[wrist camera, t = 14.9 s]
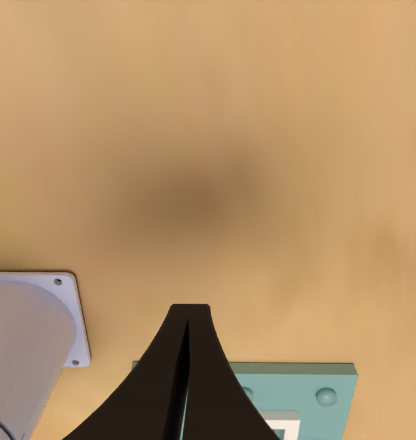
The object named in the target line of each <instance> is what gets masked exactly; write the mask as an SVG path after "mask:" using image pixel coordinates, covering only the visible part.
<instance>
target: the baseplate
mask: <svg viewBox="0 0 416 440" xmlns="http://www.w3.org/2000/svg"><path fill="white" fill-rule="evenodd" d="M137 363H138V362H134V363H133V367H132V370H133V368H134V367H135V366H136V364H137ZM229 364H230V366H231V368H232V370H233V372H234V374H235V376H236V378H237V379H238V381H239V383H240V385H241V386H242V388H243V390H244V391H245V393H246V394H247V396H248V397H249V399H250V400H251V402H252V403H253V405H254V406H255V407H256V409H257V410H258V412H259V413H260V414H261V416H262V417H263V418H264V420H265V421H266V422H267V424H268V425H269V426H270V427H271V429H274V432H275V434H276V435H277V436H278V437H279V438H280V439H281V440H342V438H343V434H344V430H345V426H346V422H347V418H348V414H349V410H350V405H351V401H352V397H353V393H354V389H355V385H356V381H357V377H358V374H357V372H356V369H355V367H354V364H318V363H229ZM187 393H188V391H187ZM186 402H187V398H186ZM185 411H186V404H185V410H184V417H183V423H182V430H181V437H180V440H182V436H183V428H184V419H185Z"/></svg>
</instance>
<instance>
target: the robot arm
mask: <svg viewBox="0 0 416 440" xmlns="http://www.w3.org/2000/svg"><path fill="white" fill-rule="evenodd" d="M57 279H60V280H61V281H62V282H59V281H57ZM76 360H77V361H76ZM90 362H91V356H90V351H89V346H88V341H87V336H86V331H85V326H84V320H83V315H82V310H81V305H80V300H79V295H78V290H77V284H76V279H75V277H74V276H73V275H72V274H71V273H67V272H0V440H30V439H31V437H32V435H33V432H34V430H35V428H36V426H37V424H38V421H39V419H40V417H41V415H42V413H43V410H44V408H45V406H46V404H47V402H48V399H49V397H50V395H51V393H52V391H53V388H54V386H55V384H56V382H57V380H58V377H59V375H60V373H61V371H62V369H63V367H87V366H89V364H90ZM187 391H188V393H187ZM186 398H187V402H186ZM185 404H186V411H185V419H184V428H183V436H182V440H281V439H280V438H279V437H278V436H277V435H276V434H275V432H274V431H273V430H272V429H271V427H270V426H269V425H268V424H267V422H266V421H265V420H264V418H263V417H262V416H261V414H260V413H259V412H258V410H257V409H256V407H255V406H254V405H253V403H252V402H251V400H250V399H249V397H248V396H247V394H246V393H245V391H244V390H243V388H242V386H241V385H240V383H239V381H238V379H237V378H236V376H235V374H234V372H233V370H232V368H231V366H230V364H229V362H228V360H227V358H226V356H225V354H224V352H223V349H222V347H221V344H220V342H219V339H218V337H217V334H216V331H215V328H214V325H213V321H212V317H211V311H210V306H209V305H208V304H173V305H172V306H170V309H169V311H168V314H167V316H166V318H165V320H164V322H163V324H162V325H161V327H160V329H159V331H158V333H157V334H156V336H155V337H154V339H153V341H152V342H151V344H150V346H149V347H148V349H147V350H146V352H145V353H144V354H143V356H142V357H141V359H140V360H139V362H138V363H137V364H136V366H135V367H134V368H133V370H132V371H131V372H130V373H129V375H128V376H127V377H126V378H125V379H124V381H123V382H122V383H121V384H120V385H119V387H118V388H117V389H116V390H115V391H114V392H113V393H112V394H111V395H110V396H109V397H108V398H107V400H106V401H105V402H104V403H103V404H102V405H101V406H100V407H99V408H98V409H97V410H95V411H94V412H93V413H92V414H91V415H90V416H89V417H88V418H87V419H86V420H85V421H83V422H82V423H81V424H80V425H79V426H78V427H77V428H76V429H75V430H73V431H72V432H71V433H70V434H69V435H67V436H66V437H65V438H63V439H62V440H180V437H181V430H182V423H183V417H184V410H185Z"/></svg>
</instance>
